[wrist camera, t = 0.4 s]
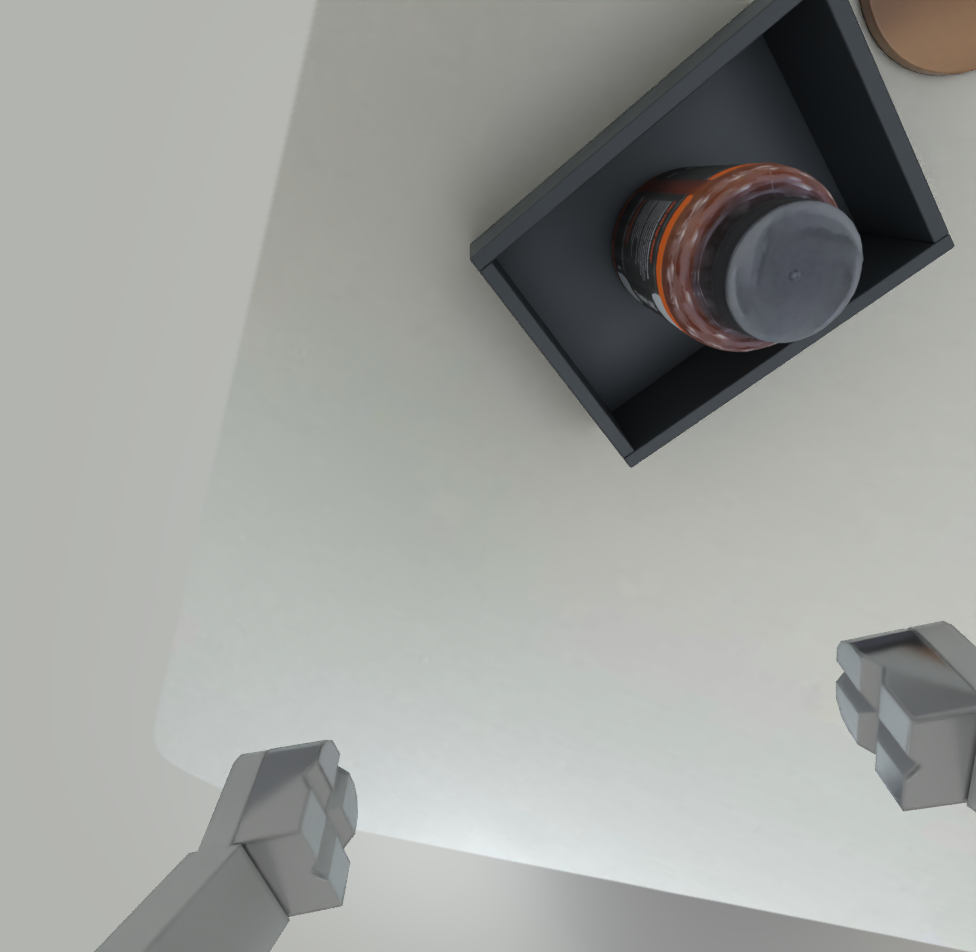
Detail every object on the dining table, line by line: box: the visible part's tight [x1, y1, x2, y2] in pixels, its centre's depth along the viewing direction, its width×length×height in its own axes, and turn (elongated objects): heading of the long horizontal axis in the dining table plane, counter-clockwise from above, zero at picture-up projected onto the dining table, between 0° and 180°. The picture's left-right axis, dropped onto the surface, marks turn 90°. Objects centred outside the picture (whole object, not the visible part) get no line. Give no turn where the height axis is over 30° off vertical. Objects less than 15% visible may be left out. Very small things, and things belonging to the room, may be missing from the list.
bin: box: [470, 0, 954, 467], centre depth 26 cm, size 11×15×6 cm
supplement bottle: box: [612, 163, 863, 352], centre depth 23 cm, size 6×6×11 cm
